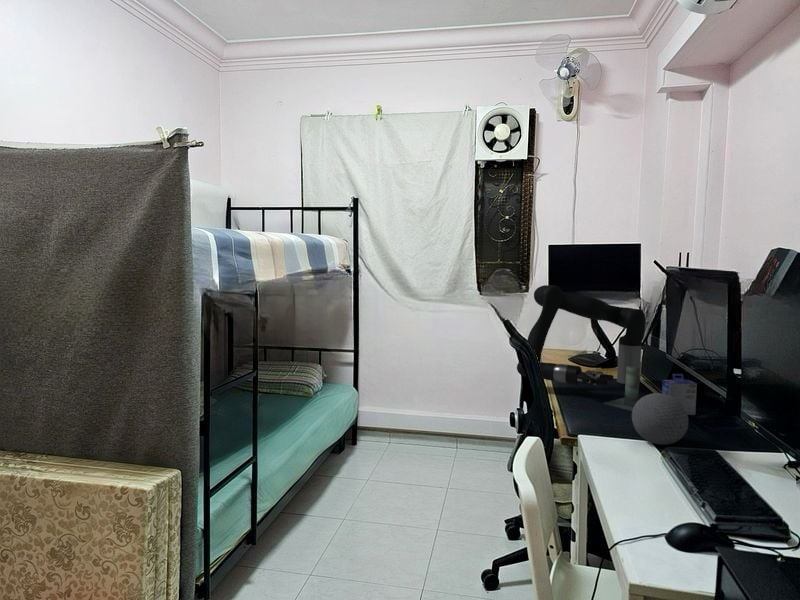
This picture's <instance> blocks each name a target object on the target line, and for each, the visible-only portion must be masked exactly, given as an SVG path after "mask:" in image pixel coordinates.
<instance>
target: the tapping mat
mask: <svg viewBox="0 0 800 600" xmlns="http://www.w3.org/2000/svg"><path fill="white" fill-rule="evenodd" d="M624 401H625V396H624V397H621V398H617V399H613V400H609V401H605V402H603V404H605V405H608V406H610V407H611V406H612V407H616V408H618V409H624V410H627V411H628V412H629V411H630V412H632V411H633V408H634V407H632V406H627V405H625V404H624Z"/></svg>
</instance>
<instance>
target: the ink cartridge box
mask: <svg viewBox="0 0 800 600" xmlns="http://www.w3.org/2000/svg"><path fill="white" fill-rule="evenodd" d="M678 376H679V377H678ZM697 387H698V383H697V382H695V381H692V380H690V379H685V378H684V374H683V373H672V379H663V380H662V383H661V388H662V389H661V391H662V392H661V394H666V395H669V396H671V397H673V398H675V399H676V400H678V401H679V402H680V403H681V404H682V405H683V407H684V408H685V410H686V412H687V415H688V416H689V415H690V416H696V409H697V408H696V407H697V406H696V405H697V390H698V388H697Z"/></svg>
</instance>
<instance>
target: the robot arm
mask: <svg viewBox="0 0 800 600" xmlns="http://www.w3.org/2000/svg"><path fill="white" fill-rule="evenodd" d="M533 299H534V301H535V303H536V304H537V305H539V306H541V308H542V309H541V313H540V315H539V316H538V318H537V320H536V321H535V323H534V325H533V326H532V327H531V330H530V331H529V334H528V337H527V339H526V342H527V341H528V342H529V343H530V344H531V346H532V347H533V349H534V350H535V353H536V355H537V357H538V361H539V365H540V369H541V373H542V376H543V379H542V380H545V381H546V380H547V381H552V382H557V383H561V384H568V385H574V386H579V385H580V384H582V385H589V386H594V385H595V386H596V385H599V386H600V385H601V386H608V381H609V382H613V381H614V375H613V374H608V373H607V374H605V373H604V372H603V371H597V370H590V369H589V370H588V369H587V370H585V371H583V370H582V367H581V365H572V364H566V363H554V362H553V363H552V362H542V353H543V350H544V347H545V343H546V340H547V337H548V333H549V332H550V331H549V330H550V328H551V326H552V323H553V322H554V319H555V317H556V315H557V313H558V311H559V310H562V311H565V312H567V313H570V314H573V315H577V316H579V317H583V318H586V319H590V320H595V321H604V322H605V321H606V322H607V323H611V324H614V325H616V326H619V327H621V328H623V329H625V334H624V335H622V336H620V337H619V338H618V350H617V351H618V353H617V373H616V382H617V383H619V384H622V385H625V382H626V367H627V366H634V367H639V368H640V378H639V384H640V383H641V373H642V346H643V344H642V343H643V341H644V339H645V338H644V337H645V332H646V323H647V321H646V319H647V318H646V314H645V312H644V311H643V310H642V309H638V308H632V307H624V306H623V307H622V306H618V305H617V306H616V305H612V304H609V303H607V302H605V301H603V300H602V299H599V298H597V297H596V298H595V297H592V296H588V295H583V294H577V293H569V292H563V290H562V289H561V288H560V287H559V286H557V285H550V284H549V285H545V284H544V285H540V286H538V287H537V288H536V289H535V290H534V292H533ZM516 370H517V372H518V374H519V375H520V376H522V377H526V373H525V371H524V369H523V368H522V365H521V363H520V361H518V362H517V364H516Z"/></svg>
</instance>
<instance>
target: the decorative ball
mask: <svg viewBox="0 0 800 600" xmlns="http://www.w3.org/2000/svg"><path fill="white" fill-rule="evenodd" d="M631 420H632V421H631V422H632V425H633V428H634V429H635V431H636V433H637V434H638V435H639V436H640V437H641V438H643V439H644V440H645V441H647V442H649V443H651V442H652V444H655V445H660V446H665V445H666V446H667V445H671V444H674V443H676V442H678V441H680V440H681V439H682V438H683V437H684V436H685V434H686V433H687V431H688V427H689V415H687V412H686V410H685V408H684V407H683V405H682V404H681V403H680V402H679V401H678V400H676V399H675V398H673V397H671V396H669V395H666V394H662V392H660V393H658V392H654V393H649V394H647V395H644V396H642V397H640V398H638V401H637V403H636V404H635V406H634V408H633V411H631Z"/></svg>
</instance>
